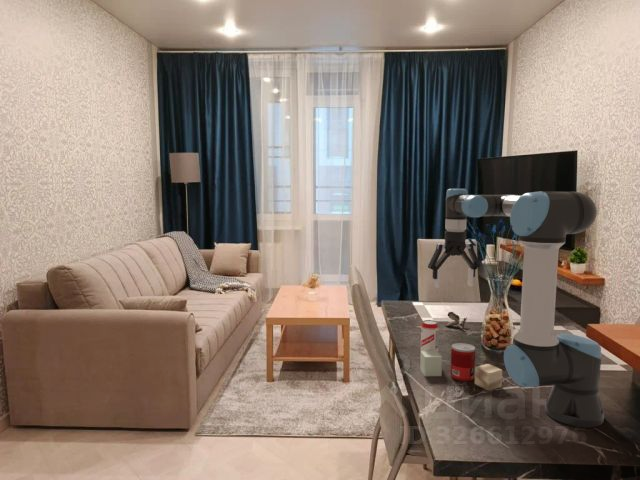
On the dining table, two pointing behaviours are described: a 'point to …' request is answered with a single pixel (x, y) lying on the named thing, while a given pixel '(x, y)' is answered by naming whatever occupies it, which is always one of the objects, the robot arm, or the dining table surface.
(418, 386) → the dining table surface
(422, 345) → the beer can
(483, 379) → the birch block
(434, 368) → the sage block
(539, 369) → the robot arm
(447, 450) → the dining table surface
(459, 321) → the snake figurine
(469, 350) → the canned food
